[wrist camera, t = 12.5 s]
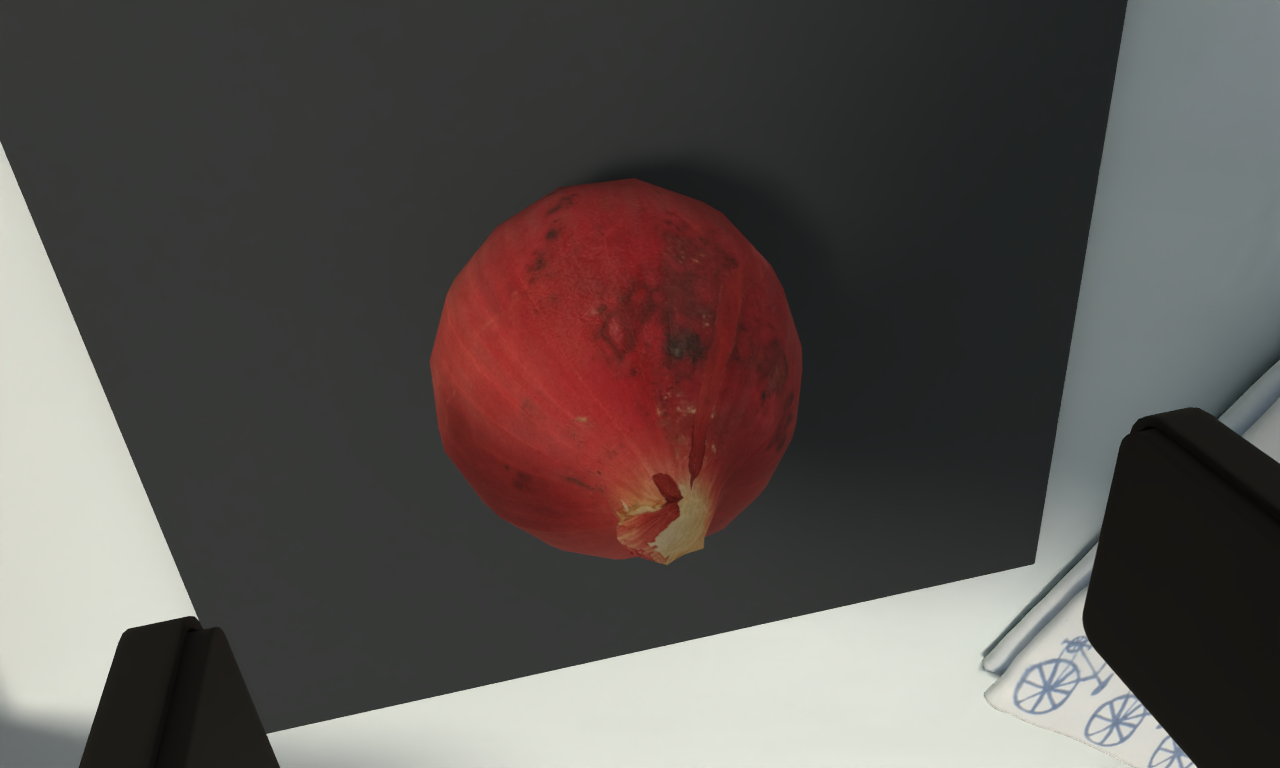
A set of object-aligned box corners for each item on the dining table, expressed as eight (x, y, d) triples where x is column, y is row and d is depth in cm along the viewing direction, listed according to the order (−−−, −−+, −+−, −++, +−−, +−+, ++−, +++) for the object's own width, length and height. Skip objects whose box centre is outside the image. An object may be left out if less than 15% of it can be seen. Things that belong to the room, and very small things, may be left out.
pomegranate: (477, 85, 16) (533, 251, 10) (768, 182, 18) (987, 377, 12) (392, 377, 19) (390, 680, 12) (660, 435, 21) (790, 723, 14)
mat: (-175, -319, 13) (-195, -324, 12) (1174, -398, 16) (1196, -405, 15) (249, 722, 23) (246, 739, 22) (1024, 552, 26) (1035, 564, 25)
